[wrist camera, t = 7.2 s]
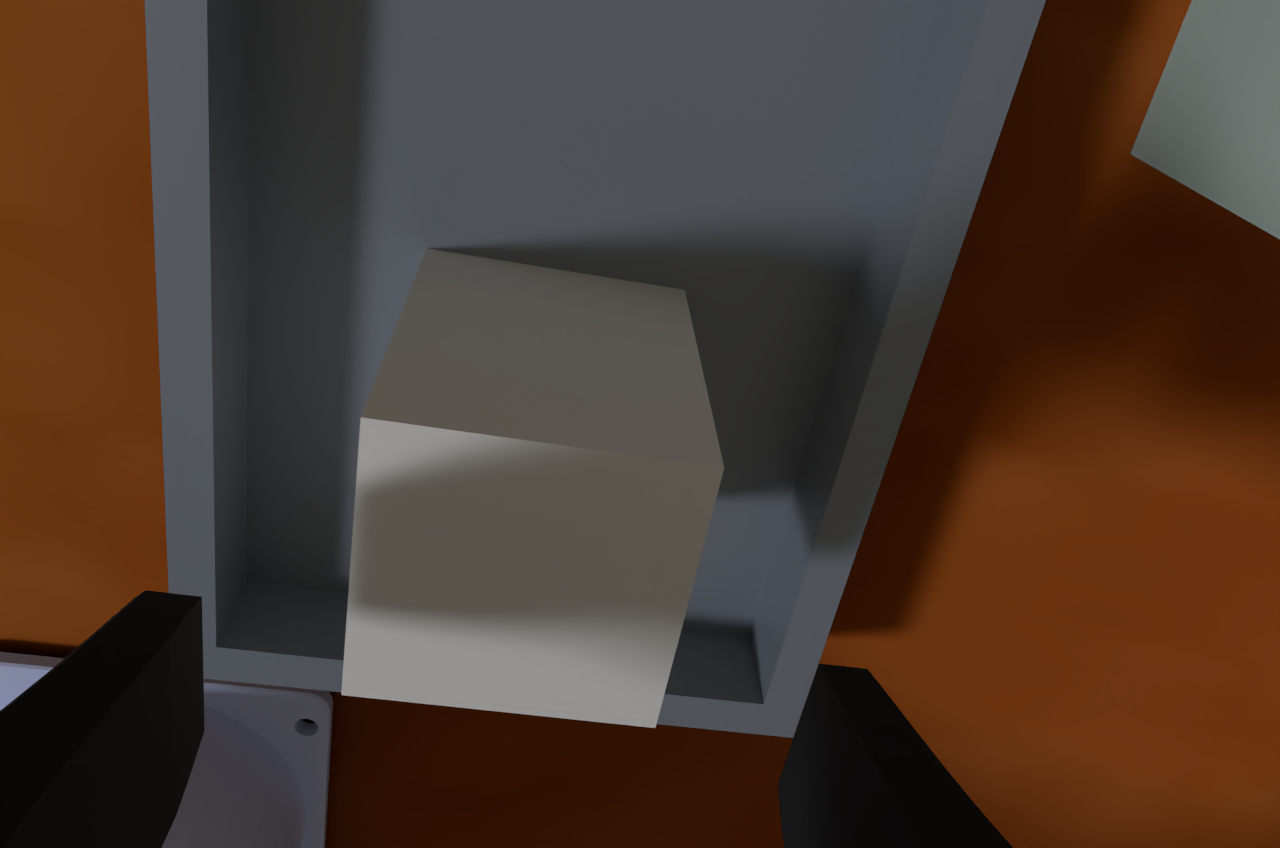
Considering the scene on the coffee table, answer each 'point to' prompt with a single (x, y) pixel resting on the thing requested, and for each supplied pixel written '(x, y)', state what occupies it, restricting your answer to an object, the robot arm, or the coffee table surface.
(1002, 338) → the coffee table surface
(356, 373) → the grey tray
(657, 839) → the coffee table surface
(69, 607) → the coffee table surface
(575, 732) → the coffee table surface
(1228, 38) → the sage block
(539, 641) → the cream block
